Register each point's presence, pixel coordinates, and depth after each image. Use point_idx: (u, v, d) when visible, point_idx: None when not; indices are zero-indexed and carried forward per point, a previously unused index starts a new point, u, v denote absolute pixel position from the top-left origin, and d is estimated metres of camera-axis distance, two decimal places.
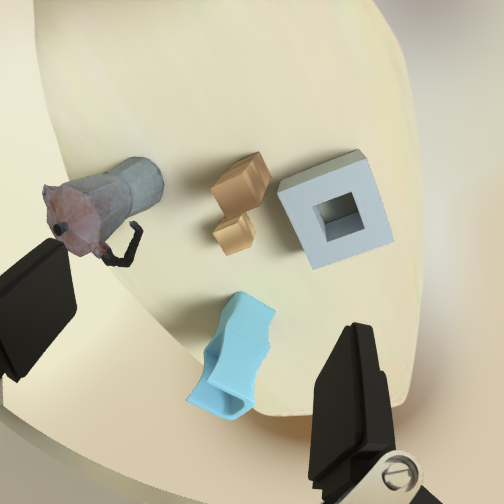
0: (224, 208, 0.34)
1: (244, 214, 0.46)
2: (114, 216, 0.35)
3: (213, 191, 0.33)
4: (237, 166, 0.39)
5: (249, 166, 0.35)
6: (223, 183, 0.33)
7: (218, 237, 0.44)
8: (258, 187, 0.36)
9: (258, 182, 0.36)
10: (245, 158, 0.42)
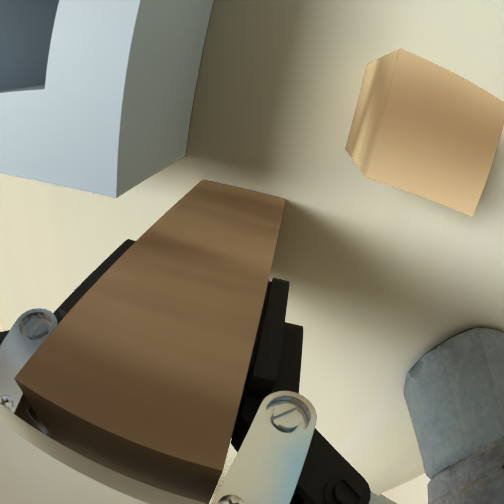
0: (195, 484, 0.04)
1: (350, 142, 0.12)
2: None
3: None
4: None
5: None
6: None
7: (473, 187, 0.08)
8: None
9: None
10: None
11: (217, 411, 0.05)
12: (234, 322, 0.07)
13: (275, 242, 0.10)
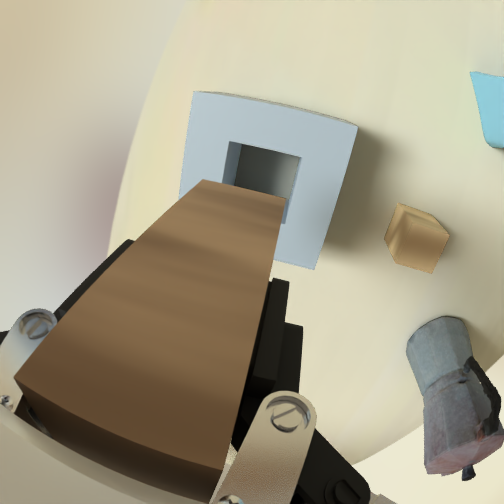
0: (195, 483, 0.04)
1: (387, 238, 0.28)
2: (451, 416, 0.22)
3: None
4: None
5: None
6: None
7: (432, 264, 0.25)
8: None
9: None
10: None
11: (217, 410, 0.05)
12: (234, 320, 0.07)
13: (275, 241, 0.10)
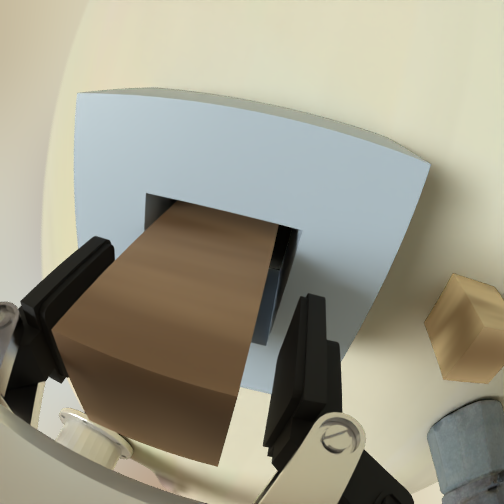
0: (211, 422, 0.06)
1: (430, 326, 0.17)
2: None
3: (211, 459, 0.07)
4: None
5: None
6: (160, 447, 0.07)
7: (492, 373, 0.13)
8: None
9: None
10: None
11: (231, 349, 0.06)
12: (244, 283, 0.08)
13: None
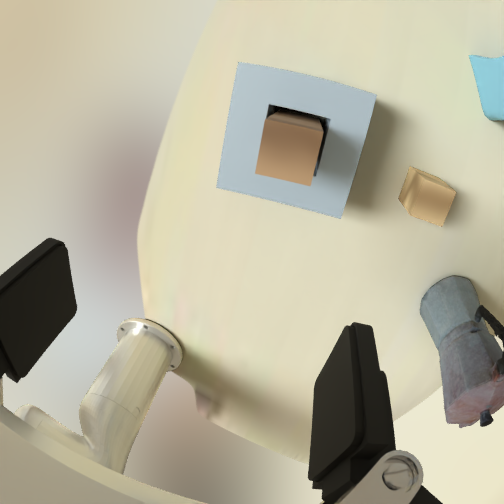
0: (314, 148, 0.20)
1: (401, 197, 0.31)
2: (467, 361, 0.25)
3: (309, 179, 0.21)
4: None
5: None
6: (287, 179, 0.21)
7: (442, 217, 0.27)
8: None
9: None
10: None
11: (318, 129, 0.20)
12: (315, 125, 0.22)
13: (319, 121, 0.26)
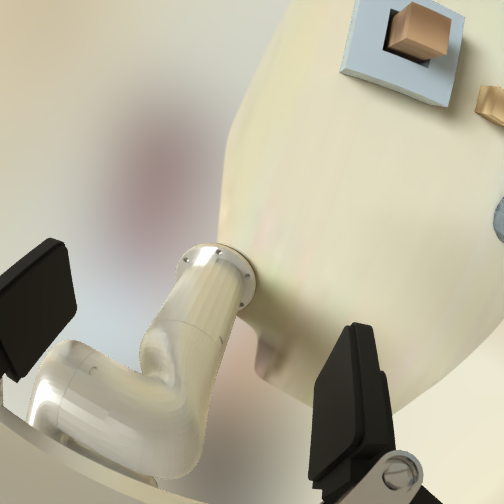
0: (446, 28, 0.17)
1: (478, 109, 0.29)
2: None
3: (445, 49, 0.19)
4: (406, 54, 0.25)
5: (395, 42, 0.22)
6: (430, 46, 0.19)
7: None
8: (400, 19, 0.20)
9: (397, 24, 0.21)
10: None
11: None
12: None
13: None
